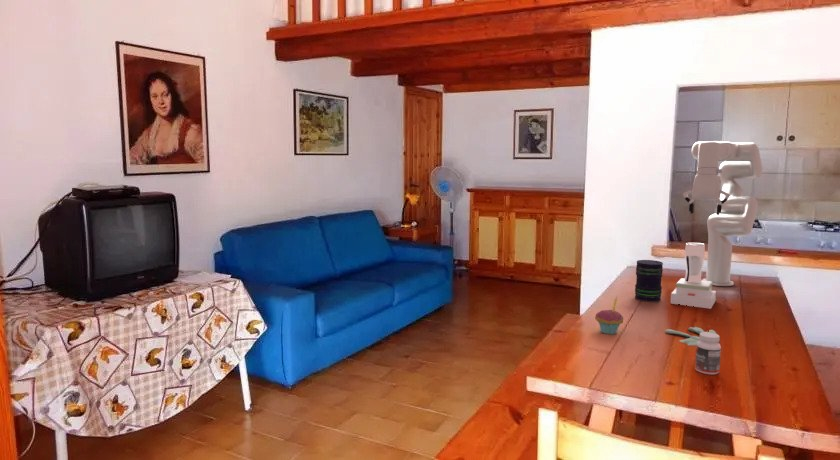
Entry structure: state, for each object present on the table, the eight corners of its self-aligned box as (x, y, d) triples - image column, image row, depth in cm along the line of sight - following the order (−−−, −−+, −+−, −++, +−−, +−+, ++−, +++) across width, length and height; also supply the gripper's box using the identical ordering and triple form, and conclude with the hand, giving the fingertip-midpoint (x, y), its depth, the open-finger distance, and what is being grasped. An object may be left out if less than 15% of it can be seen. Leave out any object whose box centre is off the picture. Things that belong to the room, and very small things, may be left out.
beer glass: (699, 280, 221) (701, 242, 219) (705, 283, 214) (708, 245, 213) (680, 279, 222) (682, 242, 220) (686, 283, 215) (688, 244, 213)
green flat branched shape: (690, 350, 165) (691, 342, 165) (642, 329, 186) (643, 322, 186) (746, 344, 170) (747, 337, 170) (693, 324, 191) (694, 317, 191)
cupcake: (622, 329, 184) (624, 293, 182) (622, 337, 176) (624, 299, 174) (595, 326, 186) (596, 291, 185) (594, 334, 178) (595, 297, 177)
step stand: (676, 296, 228) (678, 276, 227) (715, 301, 221) (716, 281, 220) (670, 303, 217) (671, 283, 216) (710, 308, 209) (712, 287, 208)
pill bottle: (690, 367, 150) (692, 331, 149) (710, 366, 150) (713, 331, 149) (703, 375, 144) (705, 338, 143) (724, 374, 145) (726, 337, 144)
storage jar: (634, 300, 222) (636, 263, 220) (634, 294, 231) (636, 259, 229) (661, 302, 218) (663, 265, 216) (660, 297, 227) (663, 260, 225)
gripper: (732, 172, 225) (729, 214, 228) (685, 171, 235) (683, 212, 237) (730, 172, 219) (727, 216, 221) (682, 172, 229) (680, 213, 231)
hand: (704, 214), depth 229 cm, fingers open, 9 cm apart
